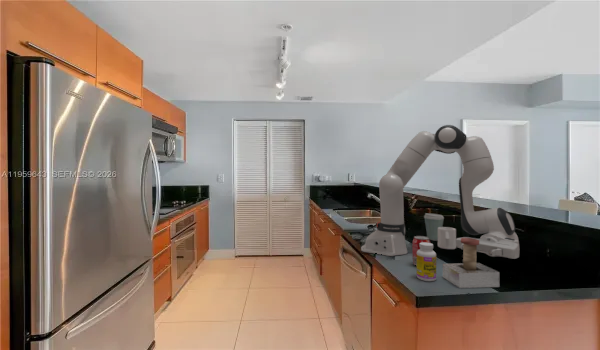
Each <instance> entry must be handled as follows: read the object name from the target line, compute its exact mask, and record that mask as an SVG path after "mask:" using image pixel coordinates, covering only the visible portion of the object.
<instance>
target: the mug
mask: <svg viewBox="0 0 600 350" xmlns="http://www.w3.org/2000/svg"><path fill="white" fill-rule="evenodd" d="M456 239H457V228H454V227H450V226H442V227H439V228H438V241H437V247H438V248H440V249H444V250H455V249H457V247H456Z"/></svg>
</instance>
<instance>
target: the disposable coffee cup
mask: <svg viewBox="0 0 600 350" xmlns="http://www.w3.org/2000/svg"><path fill="white" fill-rule="evenodd" d="M423 218H424V223H425V229H426V237H428V238H429V241H436V242H438V228H439V227H444V226H443V225H444V219H445V217H444V216H443V215H442V214H438V213H426V212H425V213H424V215H423Z"/></svg>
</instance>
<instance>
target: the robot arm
mask: <svg viewBox="0 0 600 350" xmlns="http://www.w3.org/2000/svg"><path fill="white" fill-rule="evenodd" d="M432 152H438V153H443V154H447V155H448V154H450V155H451V154H454V153H456V154H458V155H459V157H460V160H461V163H462V169H463V170H462V175H461V177H460V178H459V181H458V193H459V204H460V225H461V228H462V230H463V231H465V232H466V233H467V234H469V235H471V236H478V235H481V236H480V238H476V237H469V236H463V237H456V248H459V249H461V250H463V243H461V238H472V239H477V240H479V245H477V253H483V254H485V255H487V256H489V257H492V258H495V257H502V258H508V259H511V260H512V259H514V260H515V259H518V258H520V241H519V237H518V235H517V233H516V232H515V231H516V225H515V220H514V218H513V216H512V214H511V213H509V212H508V211H507V210H505V209H504V208H503V207H496V208H488V209H483V210H476V211H475V207H474V199H473V192H474V191H475V188H476V187H477V186H479V185H481V184H482V183H484V182H485V181H487V180H488V179H489V178H490V177H491V176H492V174H493V172H494V170H495V166H494V162H493V159H492V155H491V152H490V150H489V148H488V146H487V144H486V142H485V140H484V139H483V138H482V137H480V136H476V135H475V136H469V137H467V134H465V132H463V131H462V130H461V129H459V128H458V127H456V126H455V125H453V124H452V125H451V124H446V125H442V126H441V127H439V128H438V129H437V130H436V131H435V133H431V132H430V131H426V130H423V131H420V132H418V133H416V135H415V136H414V137H412V139H411V140H410V141H409V142H408V143H407V145H406V146H405V147H404V148H403V150H402V152H401V153H400V154H399V156H398V157H397V158H396V160H394V163H393V164H392V166H391V167H390V169H388V171H387V173H386V174H384V175H383V176H382V177H381V178H380V180H379V183H378V186H379V187H378V188H379V189H378V190H379V204H380V221H377V223H376V230H374V231H373V232H371V234H369V235H368V236H367V237H366V240H365V243H364V244H363V245H362V246H361V247H360V251H361V252H364V253H370V254H375V253H377V254H376V255H381V254H382V255H381V256H387V257H394V256H400V255H407V254H408V249H407V245H406V237H405V235H406V223H405V218H404V217H405V216H404V215H405V212H404V211H405V207H404V188H405V187H406V185H407V184H408V183H409V182H410V181H411V179H412V178H413V177H414V175H415V174H416V173H417V172H418V170H419V169H420V167H422V165H424V162H425V161H426V160H427V158H428V157H429V156H430V155H431V154H432ZM482 234H483V235H482Z"/></svg>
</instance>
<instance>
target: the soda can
mask: <svg viewBox="0 0 600 350" xmlns="http://www.w3.org/2000/svg"><path fill="white" fill-rule="evenodd" d="M422 242H426V243H431V240H429V238H428V237H427V236H424V235H416V236H415V235H414V236H413V240H412V247H411V248H412V263H413V265H414V266H415V265H416V266H415V267H417V251H418V250H419V249H420V247H419V243H422Z"/></svg>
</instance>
